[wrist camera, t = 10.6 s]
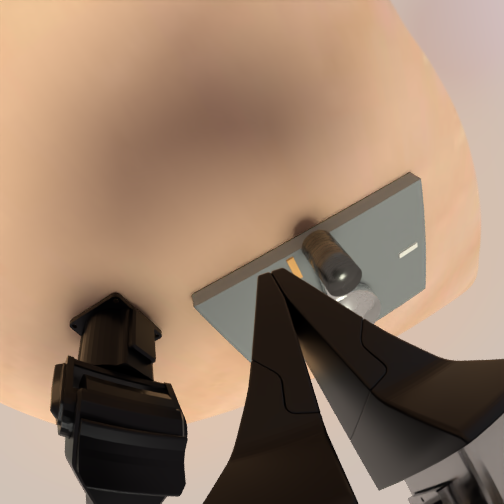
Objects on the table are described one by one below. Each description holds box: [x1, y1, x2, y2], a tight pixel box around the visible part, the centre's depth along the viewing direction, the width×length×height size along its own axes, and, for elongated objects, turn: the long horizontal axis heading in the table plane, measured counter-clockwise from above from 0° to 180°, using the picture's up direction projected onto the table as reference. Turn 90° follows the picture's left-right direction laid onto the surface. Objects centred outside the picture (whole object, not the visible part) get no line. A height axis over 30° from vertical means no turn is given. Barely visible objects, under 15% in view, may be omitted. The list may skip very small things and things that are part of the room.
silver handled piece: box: [302, 230, 381, 324], centre depth 25 cm, size 15×8×5 cm, turn 24°
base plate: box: [192, 172, 426, 362], centre depth 28 cm, size 22×16×2 cm
